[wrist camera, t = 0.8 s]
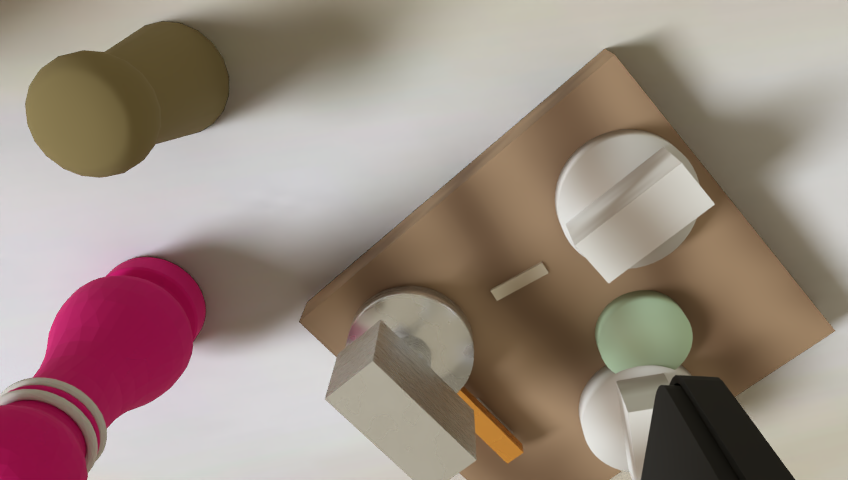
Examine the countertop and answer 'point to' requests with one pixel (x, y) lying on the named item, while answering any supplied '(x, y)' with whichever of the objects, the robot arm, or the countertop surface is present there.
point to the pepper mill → (99, 368)
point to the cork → (126, 98)
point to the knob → (415, 384)
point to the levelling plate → (586, 279)
